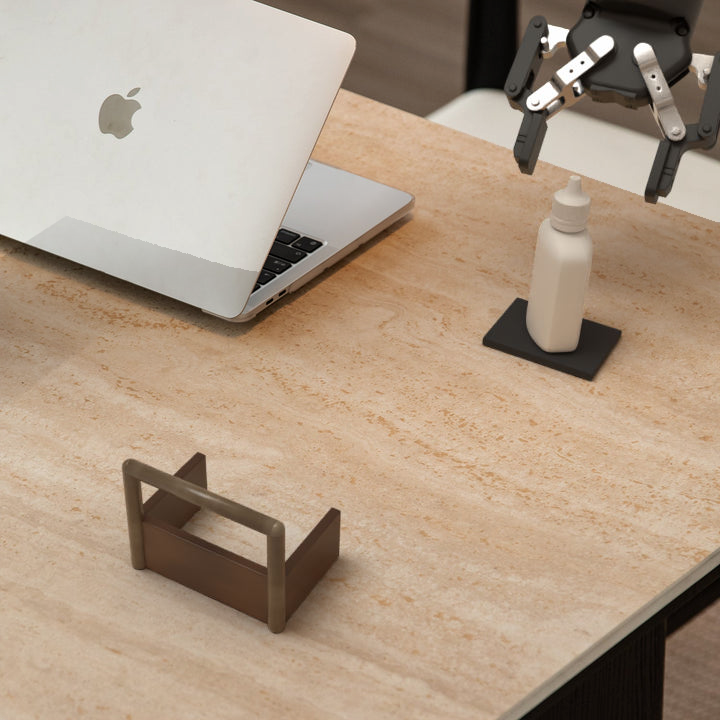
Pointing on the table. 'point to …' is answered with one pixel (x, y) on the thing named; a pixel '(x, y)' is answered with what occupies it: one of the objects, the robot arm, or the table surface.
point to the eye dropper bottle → (561, 271)
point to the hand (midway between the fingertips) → (586, 185)
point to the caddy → (213, 563)
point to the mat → (580, 362)
